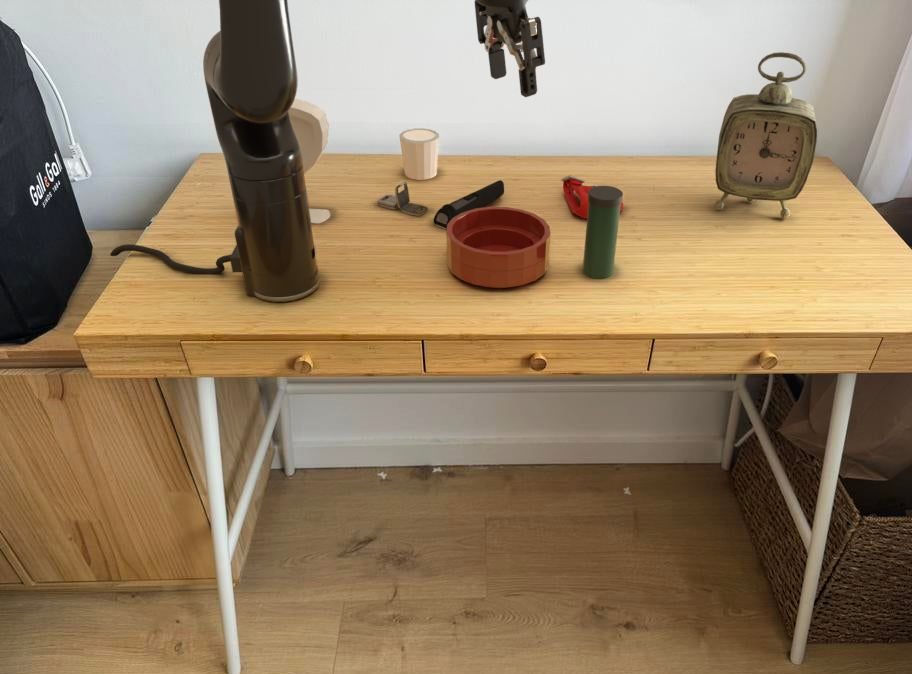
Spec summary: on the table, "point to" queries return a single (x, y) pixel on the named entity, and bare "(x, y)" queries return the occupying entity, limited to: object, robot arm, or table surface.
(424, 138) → the shot glass
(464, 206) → the electric trimmer
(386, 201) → the strap clip
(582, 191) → the tracker holder
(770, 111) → the tabletop clock
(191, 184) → the table surface
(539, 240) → the bowl
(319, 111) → the heart sculpture
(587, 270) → the tube
